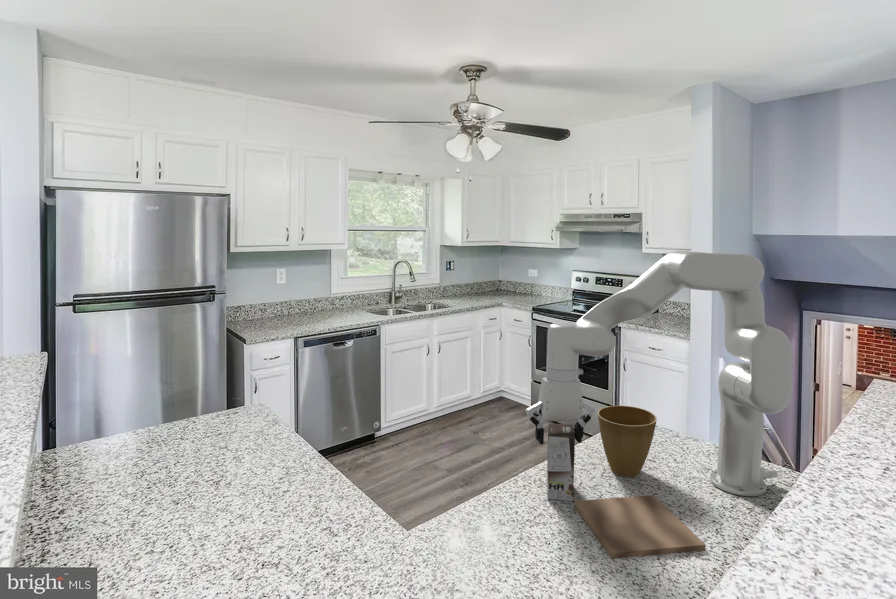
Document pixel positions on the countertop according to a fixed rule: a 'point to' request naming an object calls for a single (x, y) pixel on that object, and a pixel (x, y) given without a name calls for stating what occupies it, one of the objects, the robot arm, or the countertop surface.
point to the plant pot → (626, 437)
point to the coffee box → (560, 462)
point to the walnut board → (637, 527)
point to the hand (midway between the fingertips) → (559, 441)
